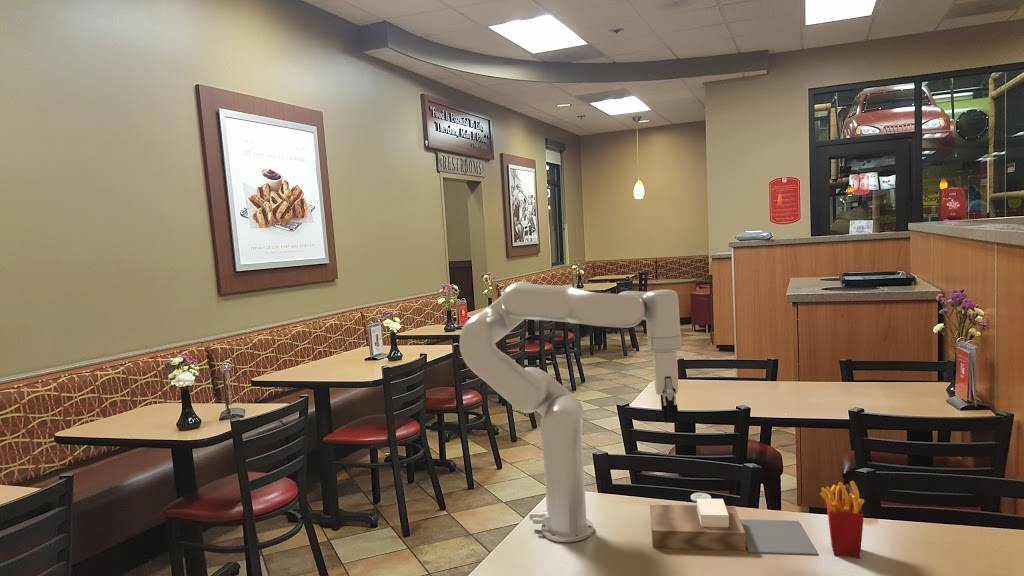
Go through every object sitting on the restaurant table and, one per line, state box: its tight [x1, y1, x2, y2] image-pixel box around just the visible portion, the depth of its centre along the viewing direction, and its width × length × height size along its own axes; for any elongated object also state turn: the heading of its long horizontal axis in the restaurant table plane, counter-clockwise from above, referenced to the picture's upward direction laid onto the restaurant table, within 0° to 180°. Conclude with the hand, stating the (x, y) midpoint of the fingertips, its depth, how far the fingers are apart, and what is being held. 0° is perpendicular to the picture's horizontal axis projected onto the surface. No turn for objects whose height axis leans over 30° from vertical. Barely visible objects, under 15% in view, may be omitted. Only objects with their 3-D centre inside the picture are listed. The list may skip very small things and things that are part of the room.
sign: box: [690, 492, 712, 503], centre depth 162 cm, size 5×1×15 cm
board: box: [649, 504, 747, 551], centre depth 147 cm, size 20×14×4 cm
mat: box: [740, 518, 819, 556], centre depth 144 cm, size 14×16×1 cm
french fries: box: [819, 480, 865, 559], centre depth 136 cm, size 9×8×15 cm
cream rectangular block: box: [696, 498, 729, 527], centre depth 146 cm, size 6×9×3 cm, turn 169°
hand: (669, 416), depth 146 cm, fingers open, 9 cm apart
